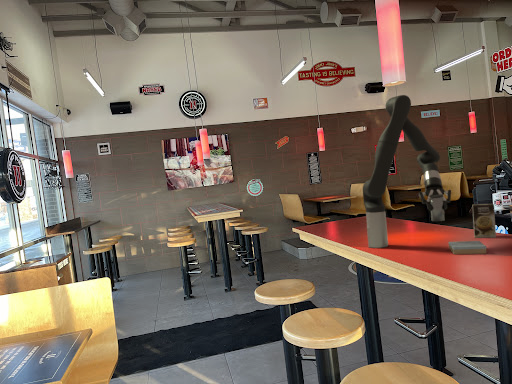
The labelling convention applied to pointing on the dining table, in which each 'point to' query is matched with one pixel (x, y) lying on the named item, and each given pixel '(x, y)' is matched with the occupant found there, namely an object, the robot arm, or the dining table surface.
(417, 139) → the robot arm
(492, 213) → the coffee box
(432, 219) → the canister
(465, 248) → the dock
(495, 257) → the dining table surface
